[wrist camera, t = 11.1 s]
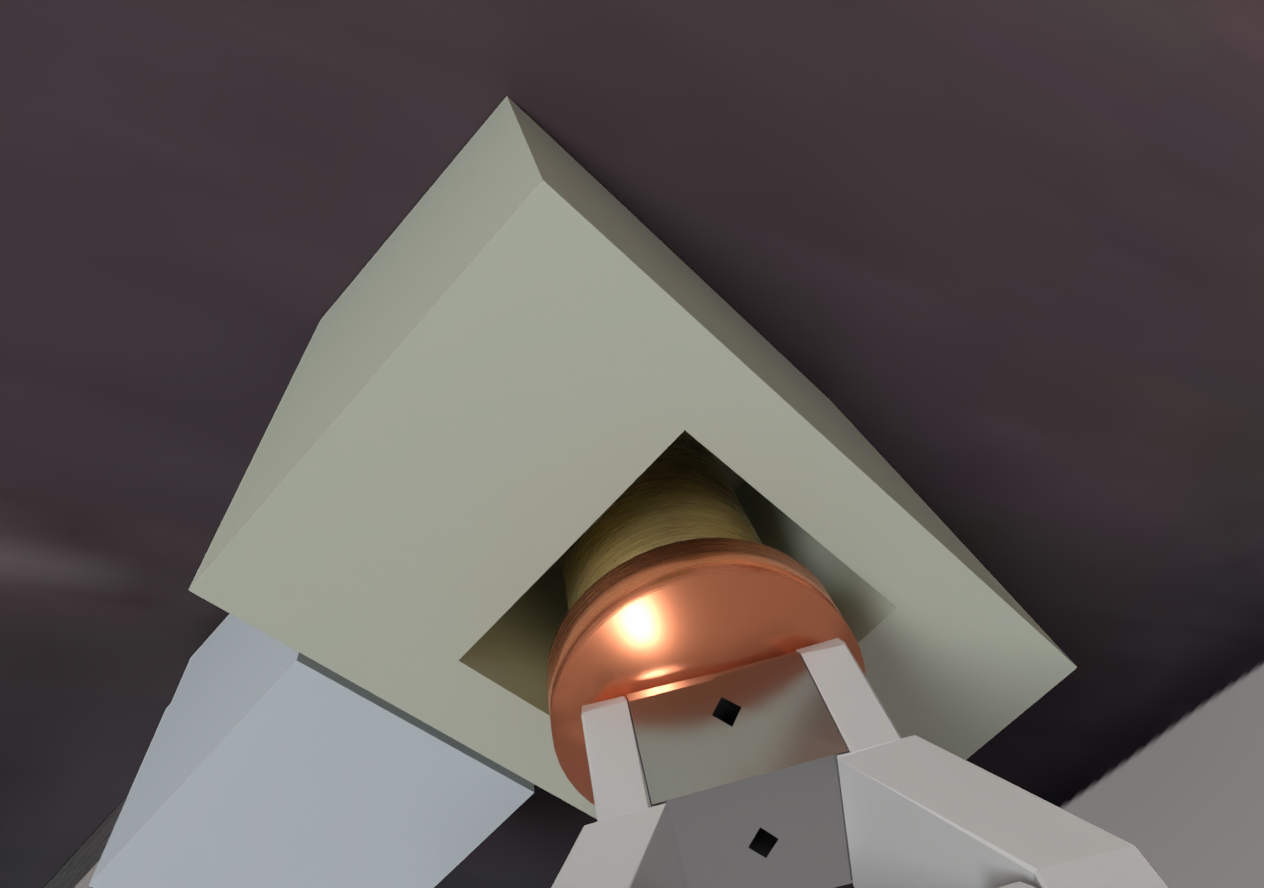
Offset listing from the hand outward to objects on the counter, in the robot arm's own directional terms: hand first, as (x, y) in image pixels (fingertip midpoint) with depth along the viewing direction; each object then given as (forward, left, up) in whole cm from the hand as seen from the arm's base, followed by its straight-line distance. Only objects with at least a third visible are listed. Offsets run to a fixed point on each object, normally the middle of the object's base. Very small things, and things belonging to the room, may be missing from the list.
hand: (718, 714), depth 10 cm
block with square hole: (0, 0, -12) cm, 12 cm away
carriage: (-9, 0, -12) cm, 14 cm away
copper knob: (0, 0, -6) cm, 6 cm away
